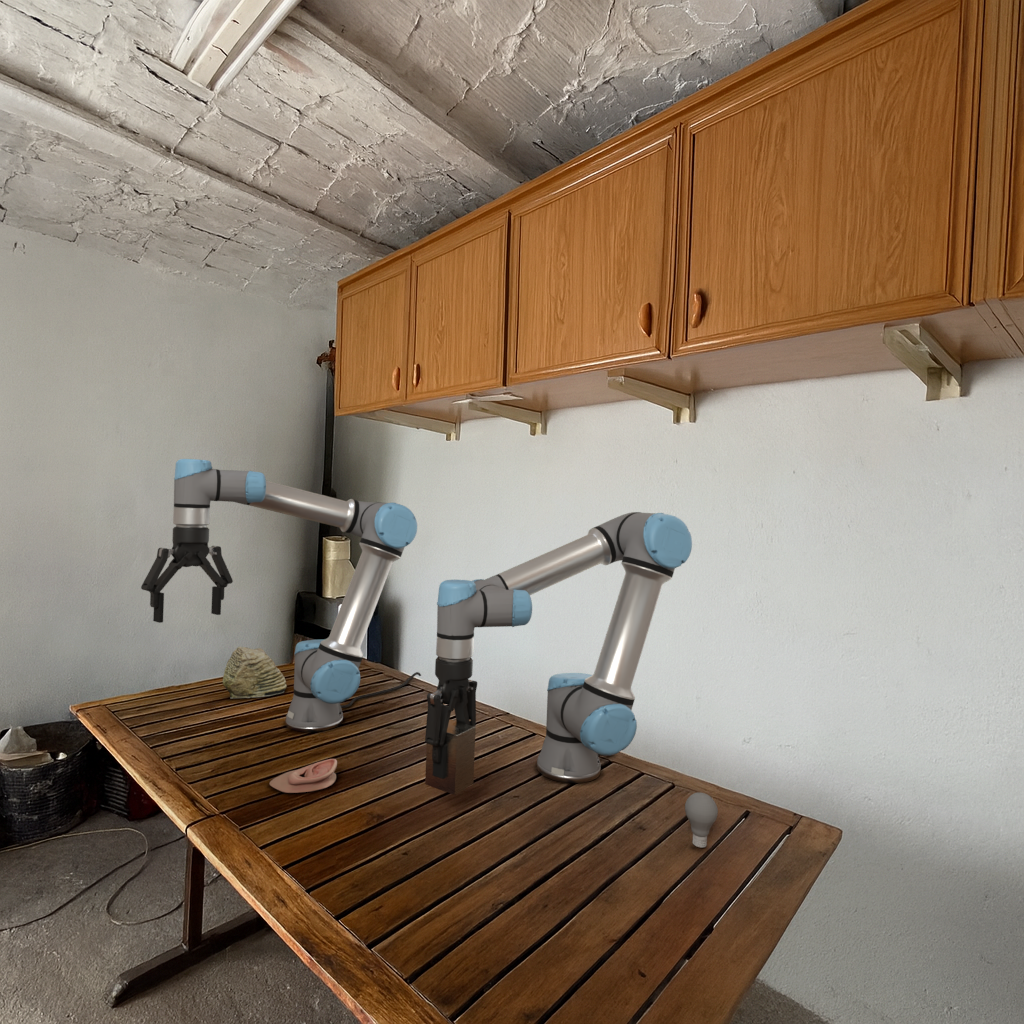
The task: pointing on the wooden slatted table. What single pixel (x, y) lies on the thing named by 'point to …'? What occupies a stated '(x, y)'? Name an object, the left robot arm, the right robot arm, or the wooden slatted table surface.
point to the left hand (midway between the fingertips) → (188, 617)
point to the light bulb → (701, 816)
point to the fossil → (252, 674)
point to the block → (454, 759)
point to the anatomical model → (307, 778)
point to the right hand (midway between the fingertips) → (449, 770)
